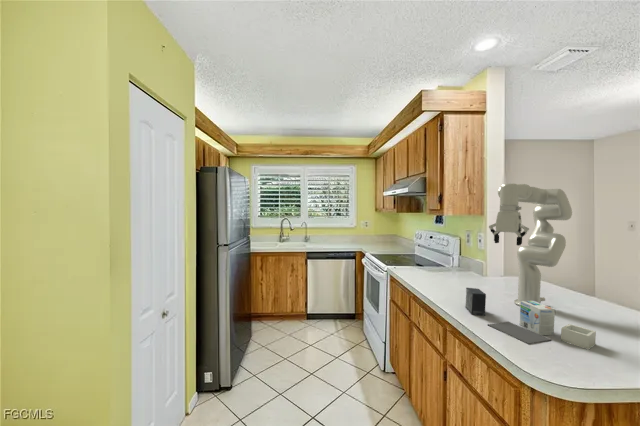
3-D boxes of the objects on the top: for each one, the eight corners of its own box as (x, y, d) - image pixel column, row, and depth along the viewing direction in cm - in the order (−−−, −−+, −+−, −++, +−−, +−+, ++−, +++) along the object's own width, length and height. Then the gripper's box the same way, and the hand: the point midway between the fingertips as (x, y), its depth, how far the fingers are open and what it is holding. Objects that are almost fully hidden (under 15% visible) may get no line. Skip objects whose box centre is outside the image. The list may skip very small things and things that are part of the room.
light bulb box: (518, 324, 127) (519, 300, 127) (533, 324, 128) (534, 300, 127) (539, 335, 116) (540, 309, 116) (554, 335, 117) (555, 309, 117)
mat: (508, 322, 129) (508, 321, 129) (551, 340, 112) (551, 339, 112) (487, 325, 126) (487, 324, 126) (528, 344, 109) (528, 343, 109)
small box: (486, 316, 137) (486, 294, 136) (471, 314, 138) (472, 293, 138) (478, 308, 147) (479, 288, 147) (464, 307, 148) (465, 287, 148)
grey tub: (568, 336, 116) (569, 323, 116) (595, 344, 110) (595, 331, 110) (561, 340, 112) (561, 328, 112) (588, 349, 105) (588, 336, 105)
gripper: (532, 209, 135) (531, 245, 136) (493, 208, 149) (492, 241, 150) (526, 209, 131) (524, 246, 131) (486, 208, 145) (485, 242, 145)
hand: (507, 244), depth 141 cm, fingers open, 9 cm apart
